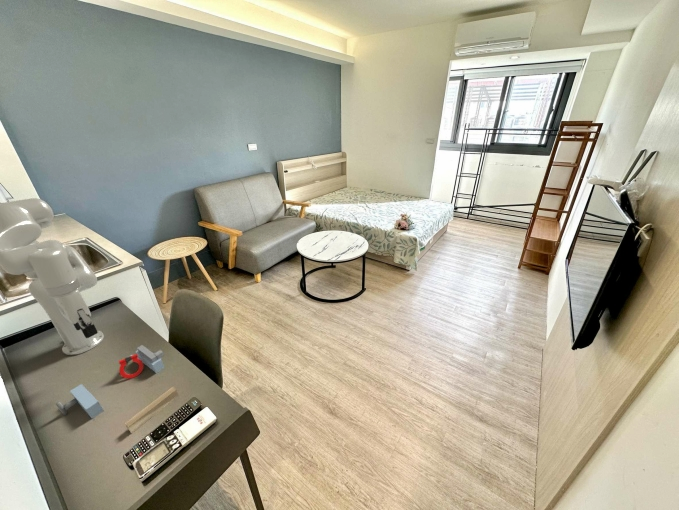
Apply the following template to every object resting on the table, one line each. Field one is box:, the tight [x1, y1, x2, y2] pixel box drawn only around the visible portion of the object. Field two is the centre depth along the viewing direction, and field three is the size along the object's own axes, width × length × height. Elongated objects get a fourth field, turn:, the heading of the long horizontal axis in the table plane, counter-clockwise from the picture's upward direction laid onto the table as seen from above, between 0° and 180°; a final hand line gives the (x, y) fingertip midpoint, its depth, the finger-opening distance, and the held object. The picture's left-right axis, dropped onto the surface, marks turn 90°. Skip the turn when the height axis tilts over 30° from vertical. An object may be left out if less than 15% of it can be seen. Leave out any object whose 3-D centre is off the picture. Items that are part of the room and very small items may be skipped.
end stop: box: [124, 386, 179, 434], centre depth 84 cm, size 2×14×3 cm, turn 149°
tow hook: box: [118, 353, 144, 379], centre depth 99 cm, size 7×10×7 cm
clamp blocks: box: [55, 344, 166, 419], centre depth 91 cm, size 12×28×6 cm, turn 149°
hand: (87, 331), depth 91 cm, fingers open, 6 cm apart
